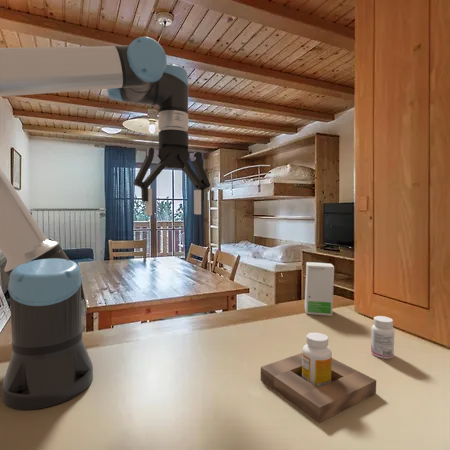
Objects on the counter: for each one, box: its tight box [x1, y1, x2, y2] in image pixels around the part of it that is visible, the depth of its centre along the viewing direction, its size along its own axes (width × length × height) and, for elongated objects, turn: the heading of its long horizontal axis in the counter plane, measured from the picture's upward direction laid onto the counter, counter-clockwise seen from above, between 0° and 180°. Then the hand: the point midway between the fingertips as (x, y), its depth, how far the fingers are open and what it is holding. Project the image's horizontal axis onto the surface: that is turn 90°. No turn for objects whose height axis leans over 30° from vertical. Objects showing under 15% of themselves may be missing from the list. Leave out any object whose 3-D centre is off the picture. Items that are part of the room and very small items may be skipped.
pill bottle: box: [370, 315, 395, 360], centre depth 75 cm, size 5×5×8 cm
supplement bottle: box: [301, 332, 333, 388], centre depth 62 cm, size 5×5×10 cm
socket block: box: [260, 352, 377, 423], centre depth 62 cm, size 15×15×2 cm
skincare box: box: [304, 261, 335, 317], centre depth 103 cm, size 8×7×16 cm
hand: (174, 214), depth 84 cm, fingers open, 13 cm apart
